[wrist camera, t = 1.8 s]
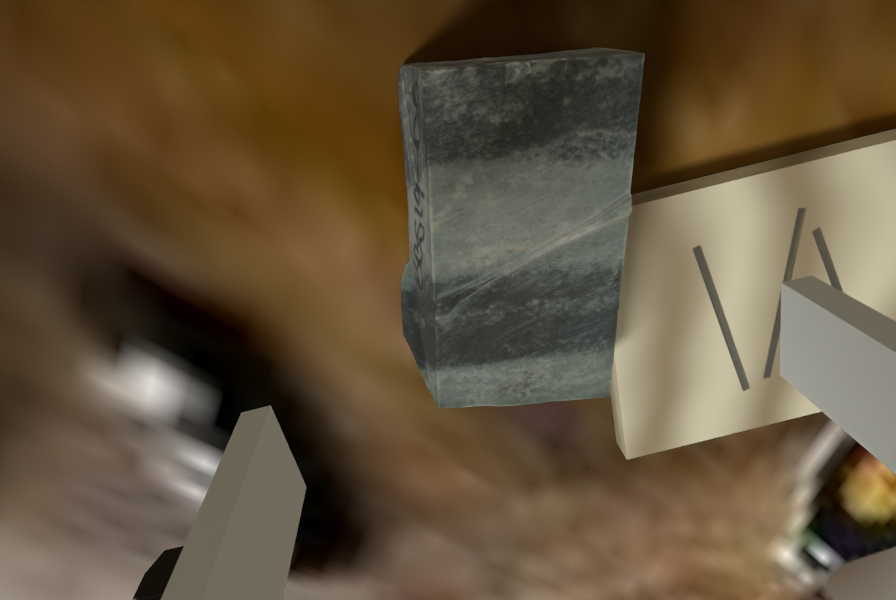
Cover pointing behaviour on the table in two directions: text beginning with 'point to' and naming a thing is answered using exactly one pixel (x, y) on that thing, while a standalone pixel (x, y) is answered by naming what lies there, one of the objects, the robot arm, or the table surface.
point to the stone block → (517, 222)
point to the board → (742, 286)
